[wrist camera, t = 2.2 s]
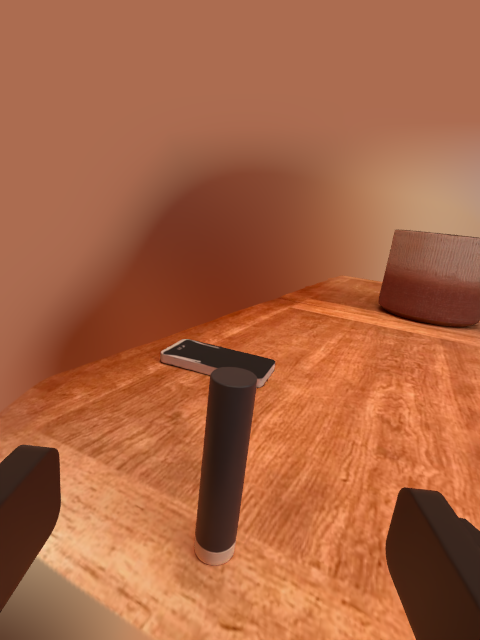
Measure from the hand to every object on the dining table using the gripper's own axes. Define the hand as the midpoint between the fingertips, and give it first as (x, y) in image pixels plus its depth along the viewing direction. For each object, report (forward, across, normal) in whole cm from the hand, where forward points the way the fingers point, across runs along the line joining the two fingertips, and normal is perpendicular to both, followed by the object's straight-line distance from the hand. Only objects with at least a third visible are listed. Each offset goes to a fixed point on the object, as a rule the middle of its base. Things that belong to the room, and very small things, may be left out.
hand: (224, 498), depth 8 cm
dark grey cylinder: (+11, 0, +14) cm, 18 cm away
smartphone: (+41, +3, +14) cm, 43 cm away
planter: (+92, -51, +14) cm, 106 cm away
